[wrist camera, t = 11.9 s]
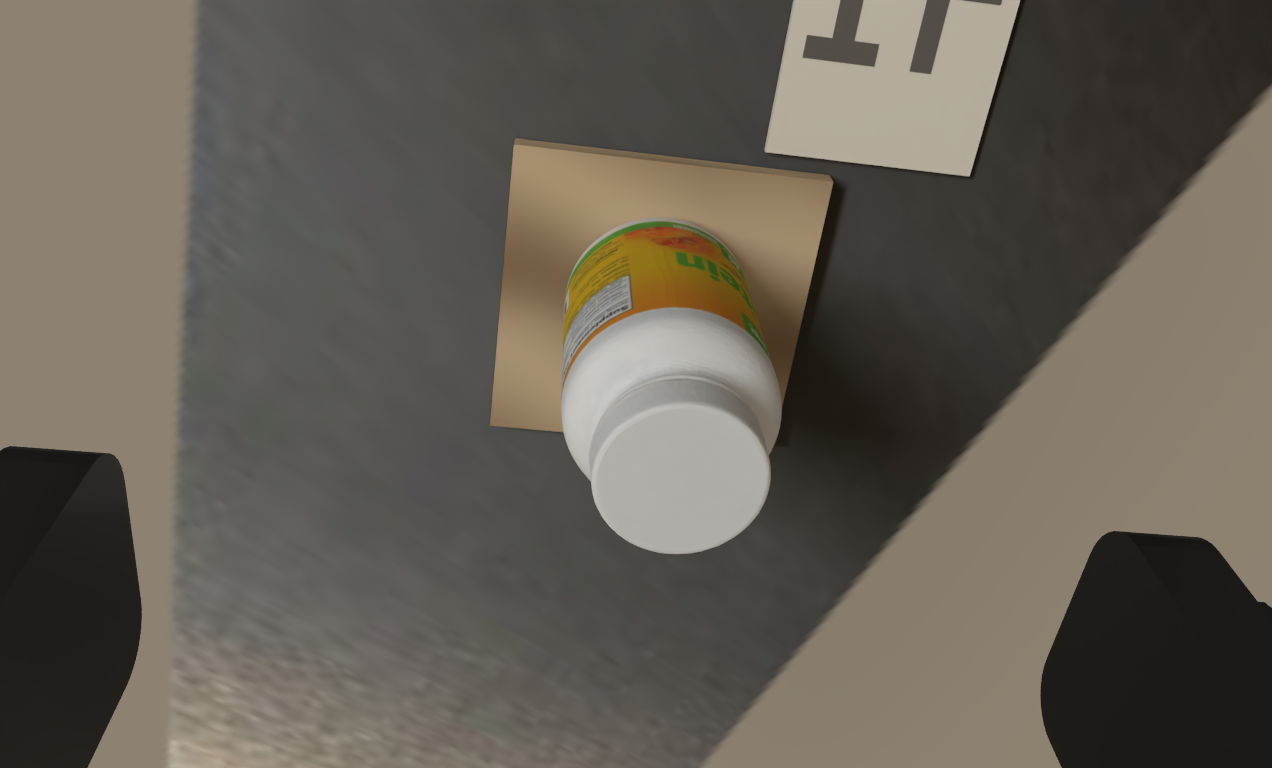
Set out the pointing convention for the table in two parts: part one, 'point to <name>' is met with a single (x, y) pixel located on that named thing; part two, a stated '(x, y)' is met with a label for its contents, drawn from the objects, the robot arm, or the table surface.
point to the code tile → (889, 81)
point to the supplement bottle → (668, 386)
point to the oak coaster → (623, 192)
